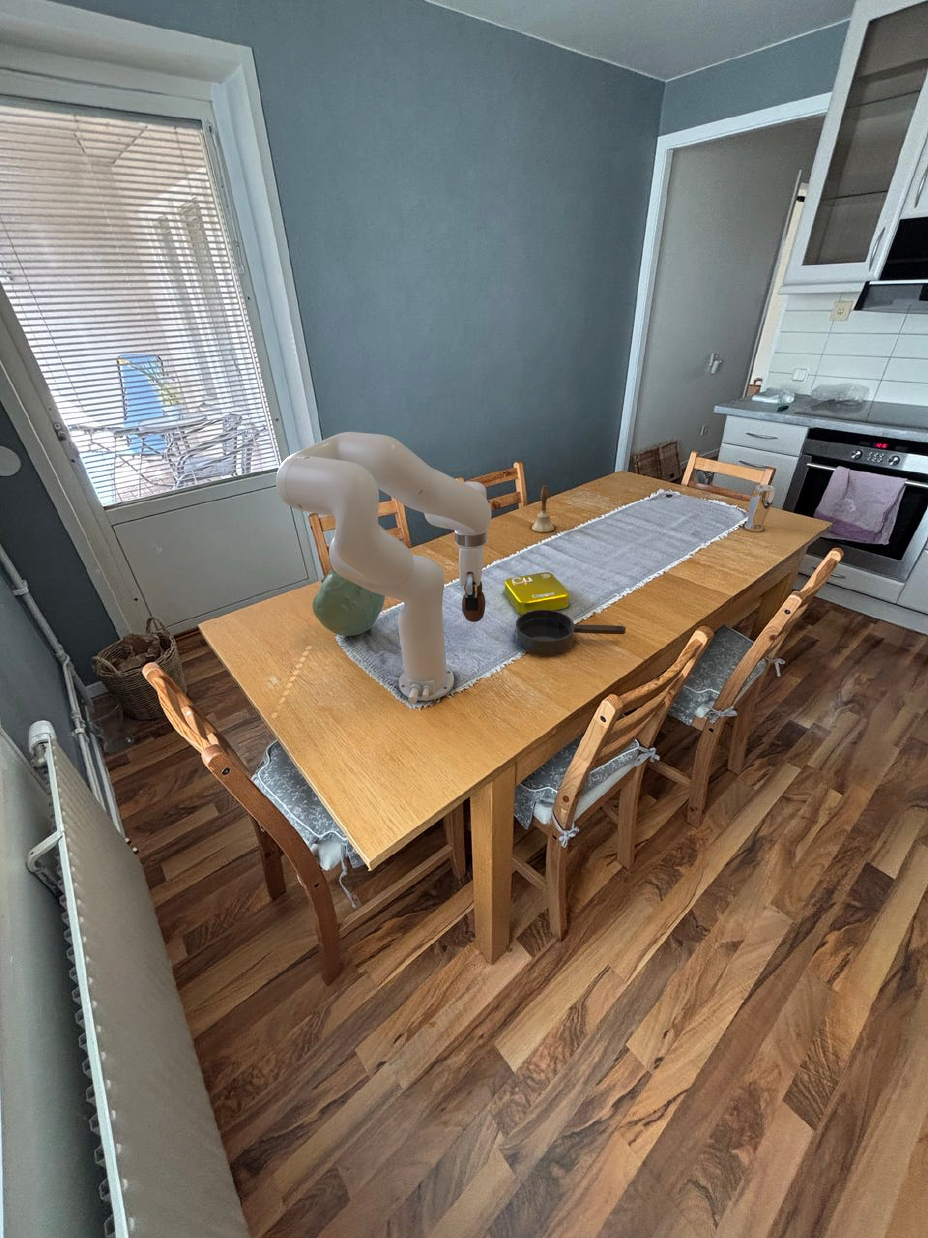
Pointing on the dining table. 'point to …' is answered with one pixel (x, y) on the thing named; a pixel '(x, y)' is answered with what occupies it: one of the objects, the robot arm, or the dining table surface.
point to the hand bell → (543, 515)
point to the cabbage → (346, 606)
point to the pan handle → (600, 629)
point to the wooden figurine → (479, 614)
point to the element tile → (536, 592)
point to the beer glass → (759, 507)
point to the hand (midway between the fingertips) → (473, 601)
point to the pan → (544, 632)
